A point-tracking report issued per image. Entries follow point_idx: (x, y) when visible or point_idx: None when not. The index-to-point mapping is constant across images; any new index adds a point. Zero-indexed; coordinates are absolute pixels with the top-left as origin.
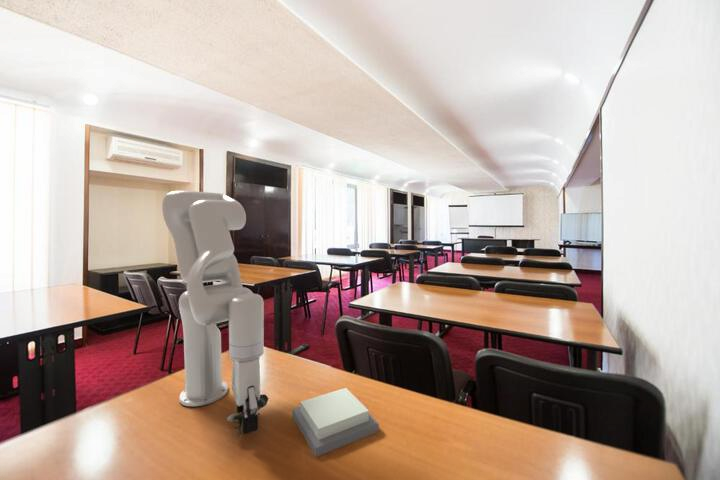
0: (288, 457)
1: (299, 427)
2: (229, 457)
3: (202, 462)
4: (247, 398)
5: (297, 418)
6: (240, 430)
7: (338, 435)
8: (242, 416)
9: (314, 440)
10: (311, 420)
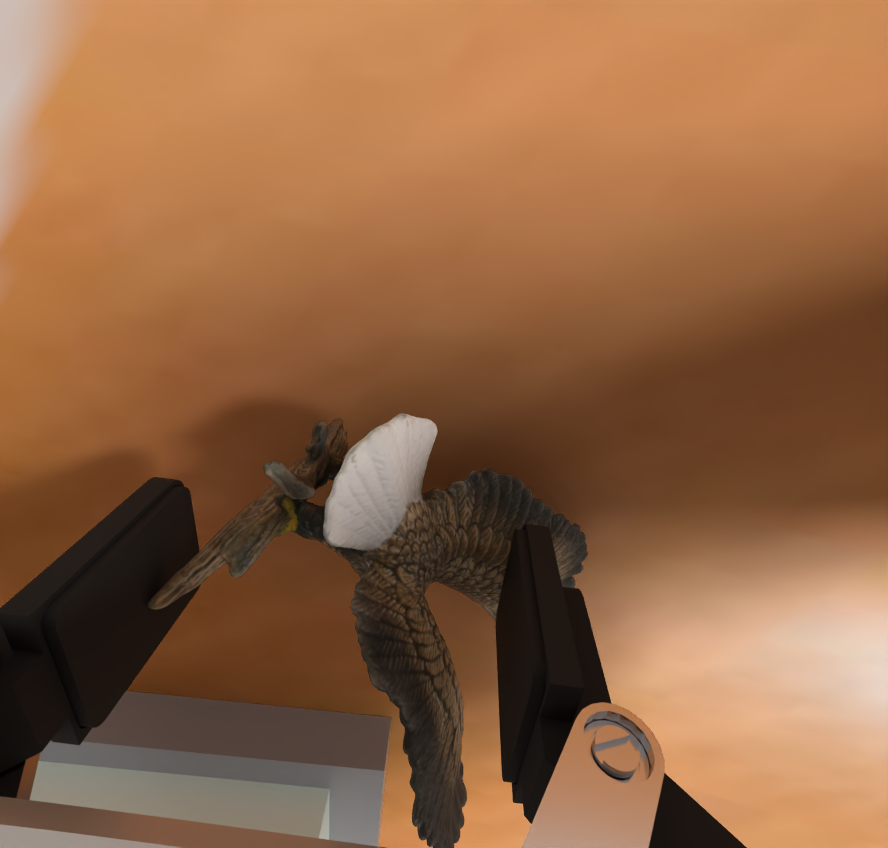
0: None
1: (252, 710)
2: (167, 302)
3: (198, 70)
4: (507, 731)
5: (276, 752)
6: (293, 465)
7: None
8: (359, 555)
9: None
10: None
